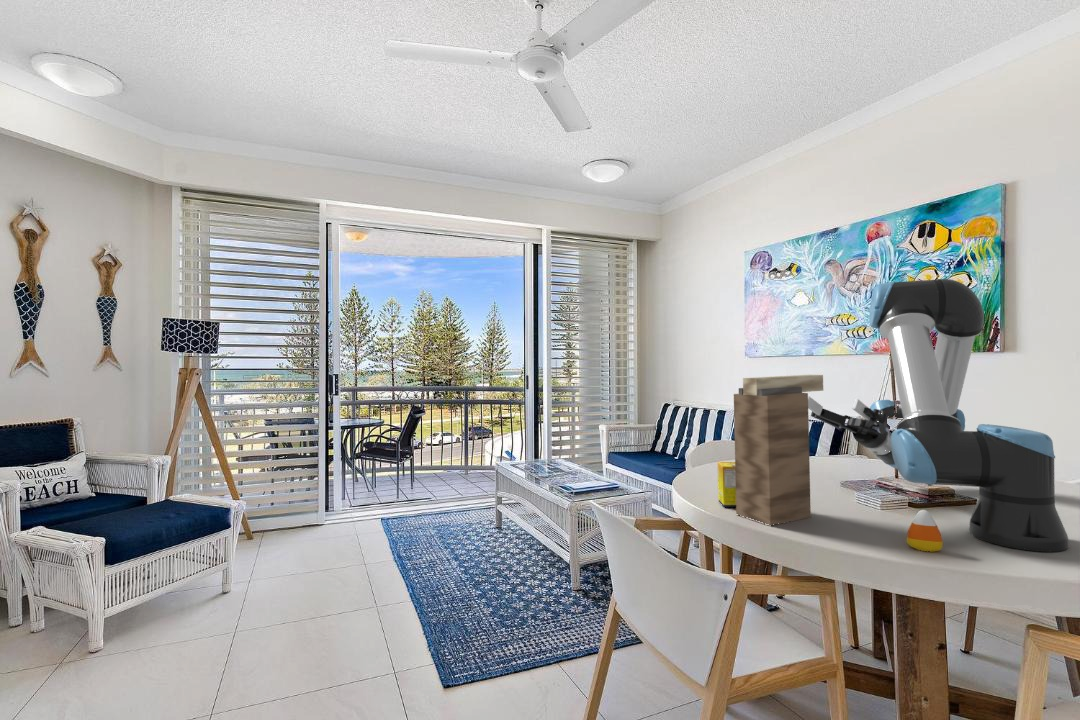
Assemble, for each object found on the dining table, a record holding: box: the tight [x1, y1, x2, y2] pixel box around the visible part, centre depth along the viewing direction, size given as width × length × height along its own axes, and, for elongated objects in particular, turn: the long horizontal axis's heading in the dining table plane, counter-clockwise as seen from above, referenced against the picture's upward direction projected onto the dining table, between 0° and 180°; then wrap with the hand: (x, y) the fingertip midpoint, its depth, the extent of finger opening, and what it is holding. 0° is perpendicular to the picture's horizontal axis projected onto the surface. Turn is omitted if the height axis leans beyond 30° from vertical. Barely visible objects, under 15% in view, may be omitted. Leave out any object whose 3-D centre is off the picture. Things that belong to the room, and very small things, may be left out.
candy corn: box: [906, 509, 944, 553], centre depth 104 cm, size 6×3×8 cm, turn 63°
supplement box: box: [717, 461, 736, 508], centre depth 138 cm, size 6×6×11 cm
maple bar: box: [742, 374, 824, 395], centre depth 130 cm, size 4×24×4 cm, turn 116°
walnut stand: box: [733, 387, 812, 525], centre depth 128 cm, size 10×14×32 cm
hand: (829, 402), depth 138 cm, fingers open, 13 cm apart
